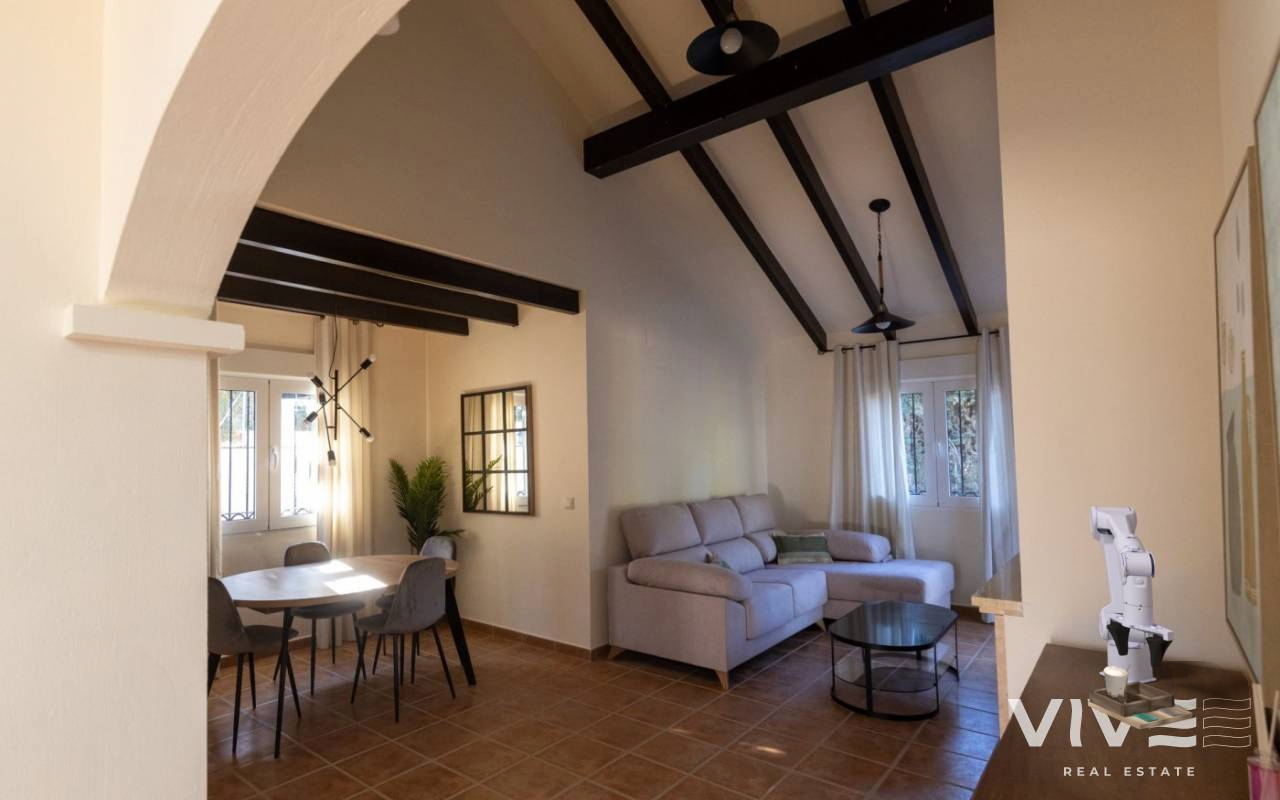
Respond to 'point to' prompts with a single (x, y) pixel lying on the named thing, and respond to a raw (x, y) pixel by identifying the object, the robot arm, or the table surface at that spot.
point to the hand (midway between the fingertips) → (1139, 660)
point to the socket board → (1139, 706)
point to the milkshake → (1116, 683)
